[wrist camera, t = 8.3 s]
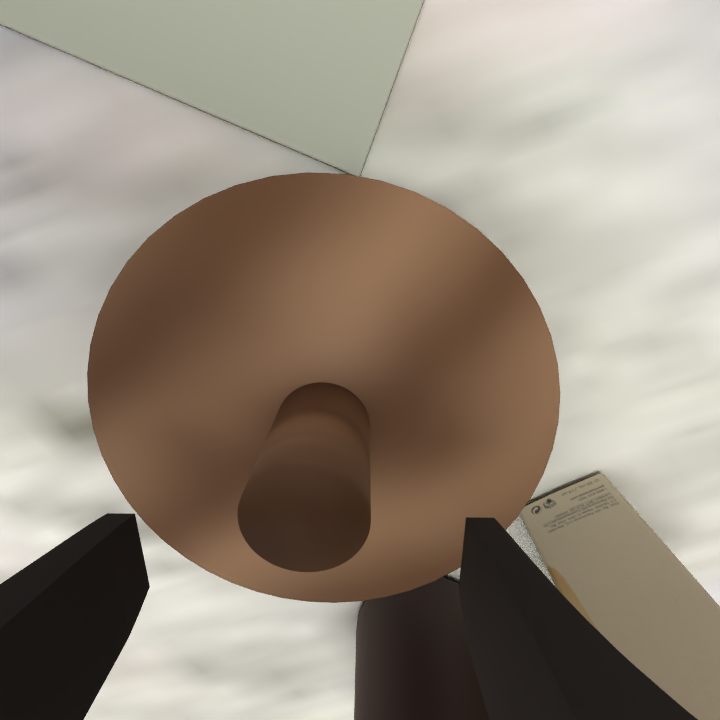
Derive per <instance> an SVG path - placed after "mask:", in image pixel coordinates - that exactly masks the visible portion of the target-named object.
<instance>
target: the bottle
mask: <svg viewBox="0 0 720 720" xmlns="http://www.w3.org/2000/svg"><path fill="white" fill-rule="evenodd" d="M354 720H489V717H488V714H487V710H486V707H485V703H484V700H483V696H482V693H481V689H480V685H479V682H478V678H477V675H476V671H475V667H474V664H473V660H472V657H471V653H470V649H469V646H468V642H467V637H466V631H465V626H464V620H463V615H462V609H461V602H460V596H459V583H457V582H454V581H451V580H448V579H446V578H443V577H441V578H439V579H437V580H435V581H433V582H430V583H428V584H425V585H423V586H420V587H417V588H415V589H412V590H410V591H406V592H402V593H398V594H394V595H391V596H387V597H382V598H376V599H370V600H366V601H365V603H364V605H363V607H362V608H361V610H360V612H359V615H358V622H357V630H356V667H355V708H354Z"/></svg>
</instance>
